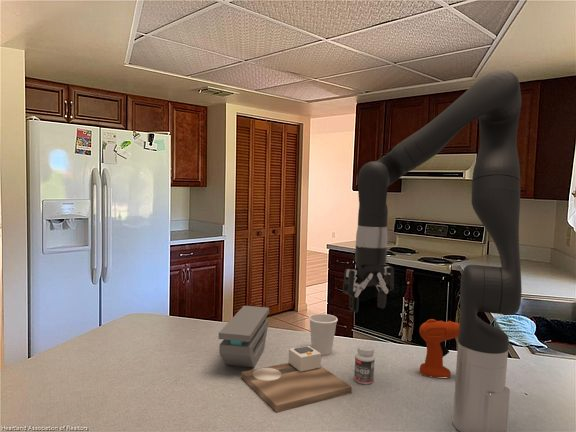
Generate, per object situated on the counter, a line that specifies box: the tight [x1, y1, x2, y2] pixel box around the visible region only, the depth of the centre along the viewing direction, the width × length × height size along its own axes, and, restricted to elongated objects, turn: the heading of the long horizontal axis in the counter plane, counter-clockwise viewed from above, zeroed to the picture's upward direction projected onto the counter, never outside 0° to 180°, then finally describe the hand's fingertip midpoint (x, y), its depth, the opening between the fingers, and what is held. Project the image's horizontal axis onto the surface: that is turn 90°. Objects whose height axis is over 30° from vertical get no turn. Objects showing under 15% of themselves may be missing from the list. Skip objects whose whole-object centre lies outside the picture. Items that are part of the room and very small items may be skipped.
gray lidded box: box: [217, 305, 270, 369], centre depth 119 cm, size 25×8×11 cm, turn 171°
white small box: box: [287, 345, 322, 372], centre depth 112 cm, size 6×6×4 cm
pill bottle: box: [353, 344, 376, 385], centre depth 108 cm, size 5×5×8 cm
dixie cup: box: [308, 313, 338, 356], centre depth 126 cm, size 8×8×10 cm
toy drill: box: [419, 318, 460, 378], centre depth 113 cm, size 5×19×15 cm, turn 80°
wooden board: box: [241, 362, 353, 413], centre depth 104 cm, size 18×20×2 cm
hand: (367, 309), depth 107 cm, fingers open, 8 cm apart
